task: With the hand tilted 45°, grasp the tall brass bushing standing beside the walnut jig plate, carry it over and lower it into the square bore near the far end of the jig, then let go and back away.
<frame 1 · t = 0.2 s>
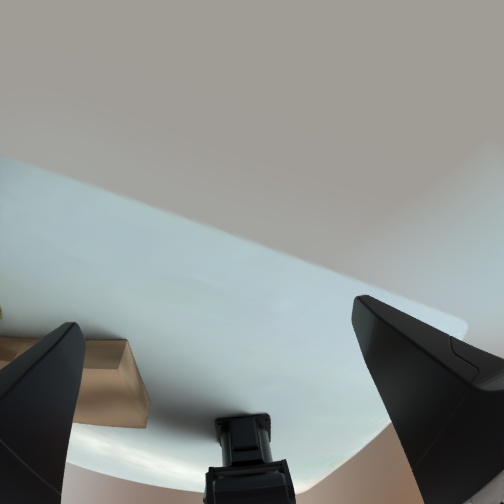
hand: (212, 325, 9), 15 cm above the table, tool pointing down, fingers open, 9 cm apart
jig: (59, 370, 28), on the table
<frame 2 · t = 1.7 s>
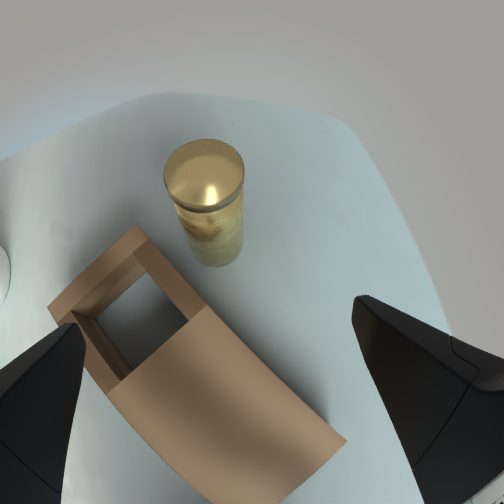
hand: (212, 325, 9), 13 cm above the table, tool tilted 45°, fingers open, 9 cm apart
jig: (191, 379, 21), on the table
bushing: (216, 242, 25), on the table
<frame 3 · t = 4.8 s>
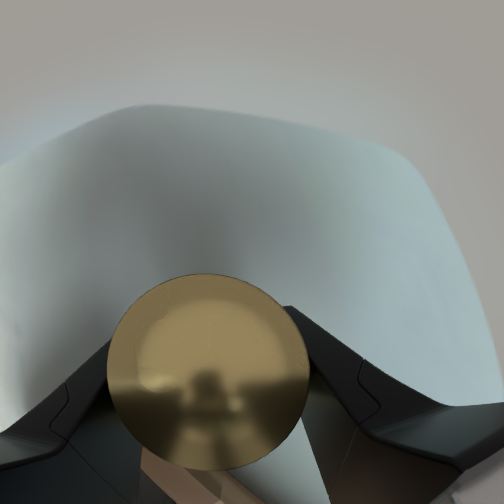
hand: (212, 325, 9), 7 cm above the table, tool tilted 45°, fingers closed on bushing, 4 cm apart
bushing: (227, 367, 15), on the table, touching gripper
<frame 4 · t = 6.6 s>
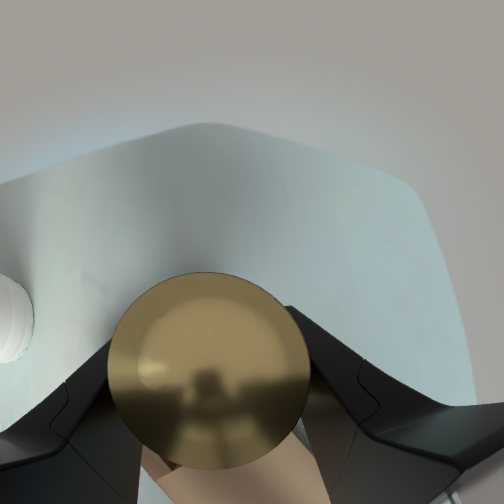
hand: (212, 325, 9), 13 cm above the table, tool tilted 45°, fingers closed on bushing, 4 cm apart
jig: (236, 458, 19), on the table
bushing: (227, 366, 15), point 7 cm above the table, touching gripper
bottle: (7, 321, 21), on the table
when the fingers open (8 cm above the table, at t = 8.6 s): bushing drops 1 cm, resting in jig.
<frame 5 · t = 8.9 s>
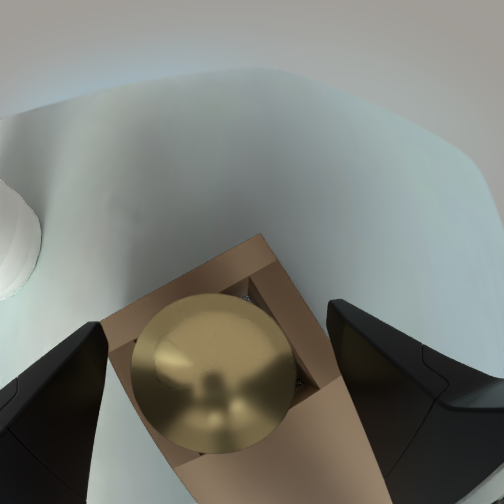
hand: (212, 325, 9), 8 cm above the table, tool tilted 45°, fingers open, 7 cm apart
jig: (279, 446, 15), on the table
bushing: (228, 367, 16), resting in jig
bottle: (7, 251, 18), on the table
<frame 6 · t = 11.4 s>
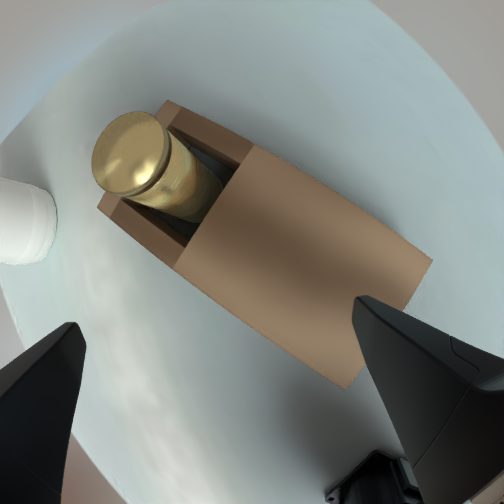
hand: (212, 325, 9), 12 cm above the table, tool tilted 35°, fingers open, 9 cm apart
jig: (258, 236, 22), on the table
bushing: (197, 196, 23), resting in jig
bottle: (36, 226, 26), on the table
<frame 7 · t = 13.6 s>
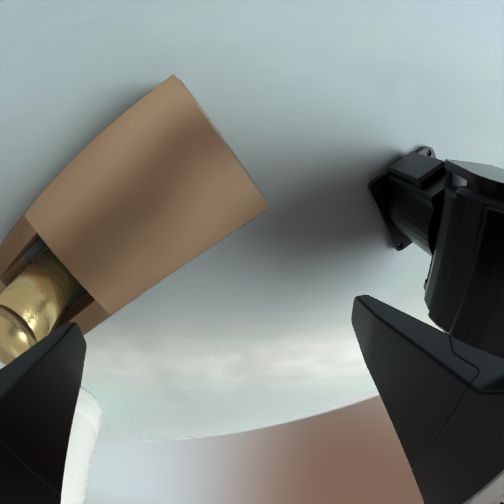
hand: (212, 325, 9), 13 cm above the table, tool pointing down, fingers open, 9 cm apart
jig: (108, 223, 21), on the table
bushing: (64, 263, 21), resting in jig
bottle: (72, 399, 28), on the table
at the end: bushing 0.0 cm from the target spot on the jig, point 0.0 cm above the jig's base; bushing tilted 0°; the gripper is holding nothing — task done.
